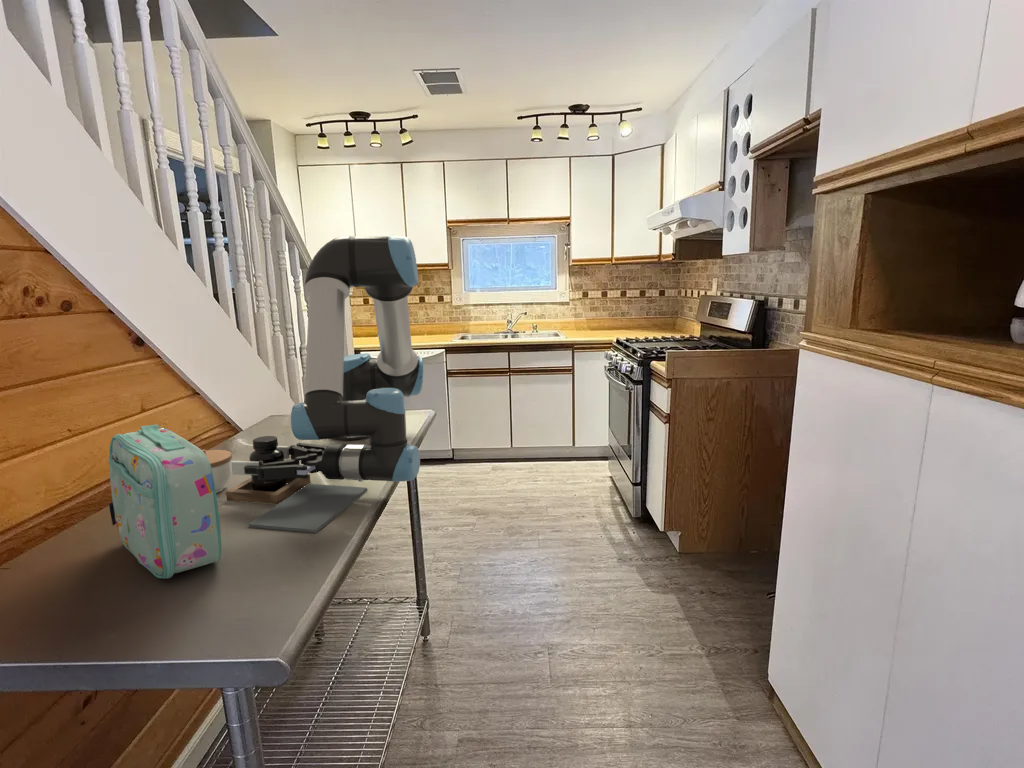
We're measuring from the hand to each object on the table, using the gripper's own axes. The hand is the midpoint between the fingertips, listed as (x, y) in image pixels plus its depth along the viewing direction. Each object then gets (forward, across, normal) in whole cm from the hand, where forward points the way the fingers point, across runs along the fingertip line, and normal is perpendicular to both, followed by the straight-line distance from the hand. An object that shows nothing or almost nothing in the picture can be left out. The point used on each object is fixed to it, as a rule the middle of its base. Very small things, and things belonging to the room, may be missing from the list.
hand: (247, 459), depth 116 cm
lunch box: (-2, -27, -8) cm, 28 cm away
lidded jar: (+10, -1, -7) cm, 12 cm away
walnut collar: (-4, 0, -7) cm, 8 cm away
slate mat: (-18, -7, -7) cm, 21 cm away
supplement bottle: (-4, 0, -7) cm, 9 cm away
